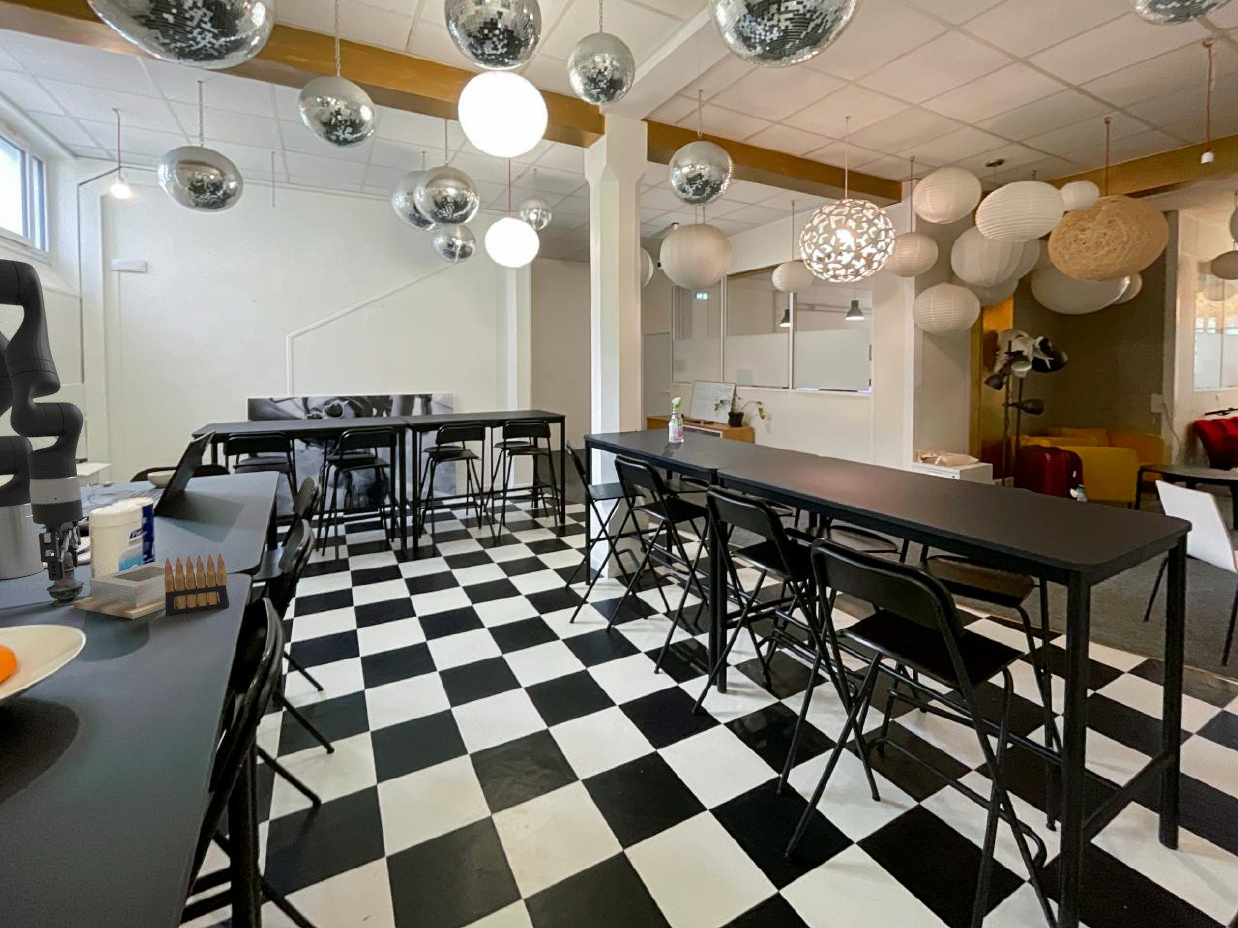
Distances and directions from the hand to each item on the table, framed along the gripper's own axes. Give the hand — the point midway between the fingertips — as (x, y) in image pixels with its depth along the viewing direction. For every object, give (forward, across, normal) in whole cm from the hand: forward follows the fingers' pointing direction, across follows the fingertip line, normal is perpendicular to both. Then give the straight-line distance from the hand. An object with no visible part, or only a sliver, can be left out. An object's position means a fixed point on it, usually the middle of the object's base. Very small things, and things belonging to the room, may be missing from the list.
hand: (64, 574), depth 121 cm
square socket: (+5, -4, -14) cm, 15 cm away
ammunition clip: (+7, -16, -25) cm, 30 cm away
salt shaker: (+6, 0, 0) cm, 7 cm away
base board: (+6, -4, -14) cm, 16 cm away
